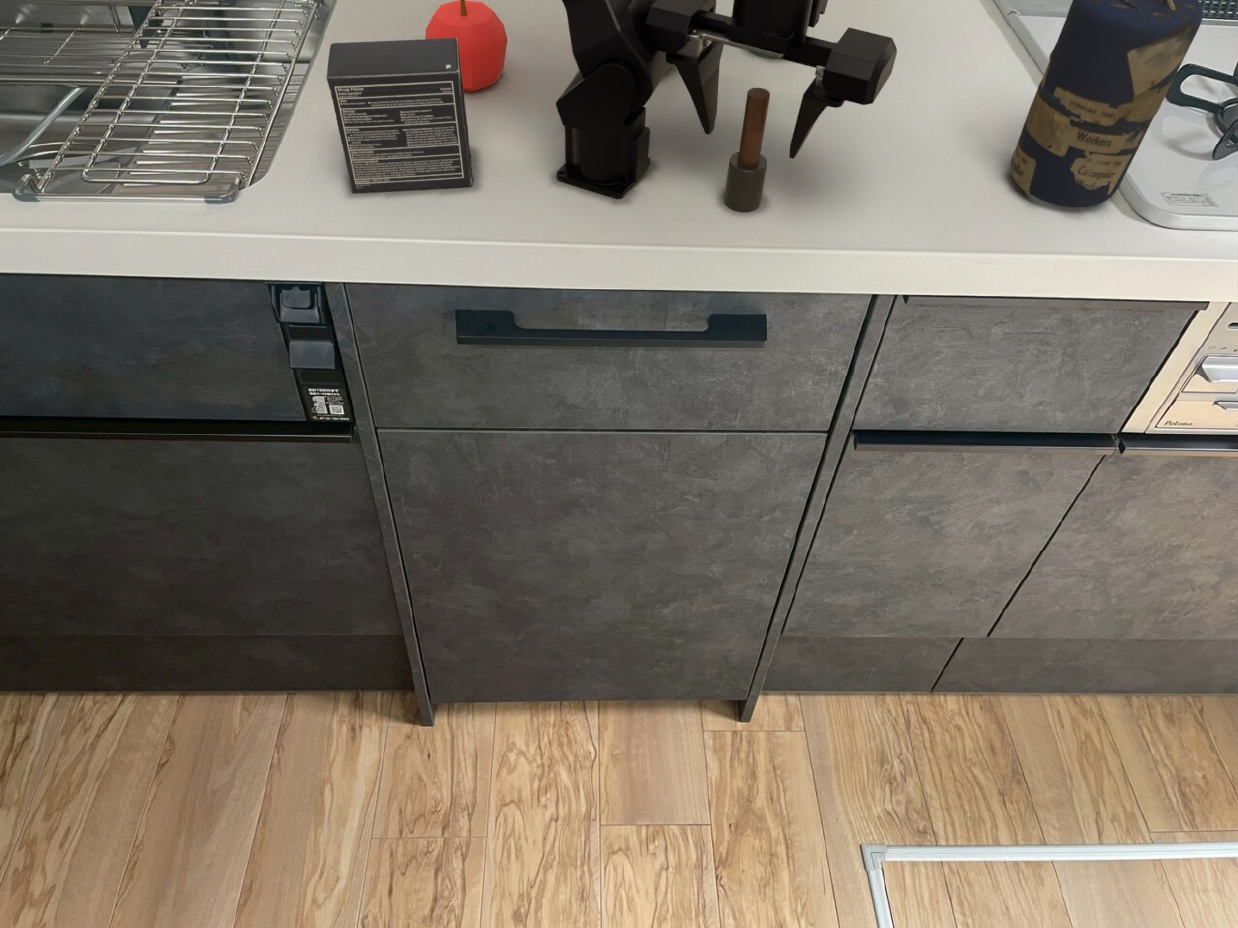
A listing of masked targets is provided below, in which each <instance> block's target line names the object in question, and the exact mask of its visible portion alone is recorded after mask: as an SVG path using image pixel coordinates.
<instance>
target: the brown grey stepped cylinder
mask: <svg viewBox="0 0 1238 928" xmlns="http://www.w3.org/2000/svg"><path fill="white" fill-rule="evenodd" d="M770 99H771V92H770V91H769V90H767V89H766V88H763V87H751V88H749V89H748V91H747V94H746V100H745V107H744V112H743V113H744V115H743V120H742V128H741V134H740V141H739V149H738V151H736V152H734V153H732V154H731V155H730V157H729V161H728V166H727V167H728V168H727V174H726V181H725V187H724V188H725V189H724V196H723V201H724V204H725V205H726V206H727V207H728V208H729V209H731V210H733V211H735V212H741V213H749V212H753V211H755V210H757V209H759V207H760V206H761V202H762V198H763V193H764V187H765V180H766V175H767V168H768V160H767V157H765V155H763V154H762V153H761V152H762V147H763V141H764V134H765V129H766V123H767V117H768V111H769V105H770Z"/></svg>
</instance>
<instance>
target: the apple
mask: <svg viewBox="0 0 1238 928" xmlns="http://www.w3.org/2000/svg"><path fill="white" fill-rule="evenodd" d="M443 38H457V39H458V48H459V57H460V65H461V74H462V83H463V92H470V93H473V92H477V91H479V90H482V89H485V88H487V87H489V86H491V85H492V84H494V83H496V82H497V81H498V79H499V78H500V76H501V74H502V73H503V71H504V68H505V62H506V54H507V48H508V42H509V41H508V36H507V32H506V28H505V24H504V23H503V21H501V19H500V18H499V17H498V15H497V14H496V12H495V11H494V10H493V9H492V8H490V7H489V6H488V5H486V4H485V3H484V2H482V1H475V0H454V1H450V2H446V3H442V4H440V6H438V8H437V9H436V10H435V12H434V13H433V15H432V17H431V19H430V21H429V23H428V24H427V27H426V28H425V38H424V39H443Z"/></svg>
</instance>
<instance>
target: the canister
mask: <svg viewBox="0 0 1238 928" xmlns="http://www.w3.org/2000/svg"><path fill="white" fill-rule="evenodd" d="M1203 17H1204V11H1203V6H1202V3H1201V2H1200V0H1072V2H1071V4H1070V6H1069V8H1068V11H1067V15H1066V18H1065V20H1064V23H1063V25H1062V28H1061V31H1060V32H1059V36H1058V38H1057V41H1056V43H1055V44H1054V45H1055V46H1054V47H1053V49H1052V51H1051V52H1050V53H1049V57H1048V58H1049V62H1048V64H1047V67H1046V68H1045V71H1044V73H1043V77H1042V78H1041V80H1040V82H1039V84H1038V87H1037V89H1036V92H1035V95H1034V98H1033V99H1032V101H1031V104H1030V108H1029V110H1028V112H1027V115H1026V118H1025V121H1024V123H1023V127H1022V129H1021V133H1020V135H1019V138H1018V141H1017V144H1016V146H1015V149H1014V151H1013V153H1012V155H1011V158H1010V164H1009V165H1010V167H1009V168H1010V173H1011V174H1010V175H1011V177H1012V178H1013V181H1014V183H1015V184H1016V185H1017V186H1018V187H1019V188H1020V189H1022V190H1023V191H1024V192H1025V193H1027V194H1028V195H1030V196H1031V197H1033V198H1036V200H1037V199H1038V200H1039V201H1041V202H1045V203H1048V204H1051V205H1054V206H1059V207H1064V208H1072V209H1081V208H1082V209H1083V208H1090V207H1094V206H1098V205H1101V204H1103V203H1104V202H1107V201H1108V200H1109V199H1111V198H1112V197H1113V196H1114V195H1115V194H1116V193H1117V191H1118V189H1119V188H1120V186H1121V185H1122V182H1123V180H1124V177H1125V176H1126V174H1127V172H1128V170H1129V168H1130V166H1131V164H1132V162H1133V160H1134V158H1135V156H1136V154H1137V153H1138V150H1139V148H1140V146H1141V145H1142V142H1143V141H1144V138H1145V136H1146V134H1147V132H1148V130H1149V128H1150V126H1151V123H1152V122H1153V120H1154V118H1155V116H1156V115H1157V113H1158V112H1159V110H1160V108H1161V107H1162V104H1163V102H1164V100H1165V98H1166V96H1167V94H1168V91H1170V88H1171V86H1172V84H1173V82H1174V80H1175V78H1176V75H1177V74H1178V72H1179V69H1180V67H1181V66H1182V63H1183V61H1184V59H1185V58H1186V56H1187V53H1188V52H1189V49H1190V47H1191V45H1192V44H1193V42H1194V39H1195V37H1196V35H1197V33H1198V31H1199V29H1200V27H1201V24H1202V23H1203V22H1202V21H1203Z"/></svg>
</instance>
